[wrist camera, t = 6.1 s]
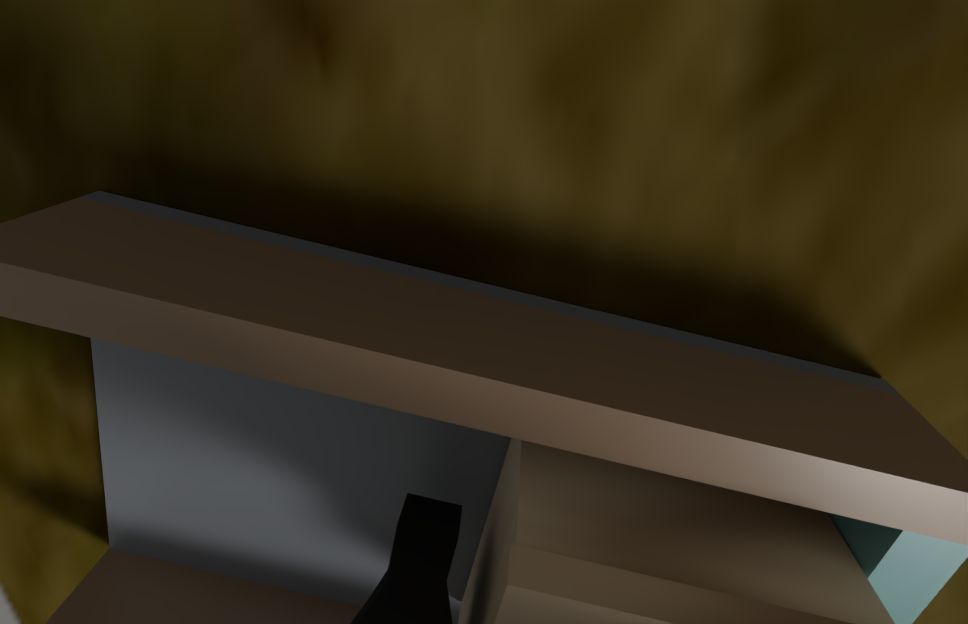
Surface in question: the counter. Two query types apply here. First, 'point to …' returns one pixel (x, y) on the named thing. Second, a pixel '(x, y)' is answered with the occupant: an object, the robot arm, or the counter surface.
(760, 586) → the tan wooden block
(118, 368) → the bay
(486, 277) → the counter surface
